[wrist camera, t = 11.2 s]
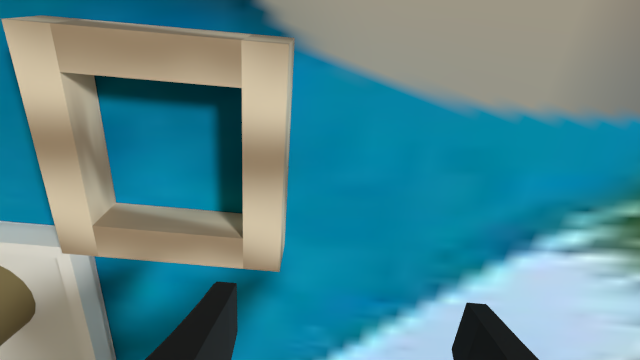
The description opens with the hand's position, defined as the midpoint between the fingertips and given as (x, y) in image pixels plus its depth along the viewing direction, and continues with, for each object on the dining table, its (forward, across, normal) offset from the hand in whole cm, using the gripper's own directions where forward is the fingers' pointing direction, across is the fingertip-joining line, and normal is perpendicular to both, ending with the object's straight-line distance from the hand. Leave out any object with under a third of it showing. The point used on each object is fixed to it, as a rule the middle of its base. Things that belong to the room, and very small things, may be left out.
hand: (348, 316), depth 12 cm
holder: (+10, +9, -1) cm, 14 cm away
